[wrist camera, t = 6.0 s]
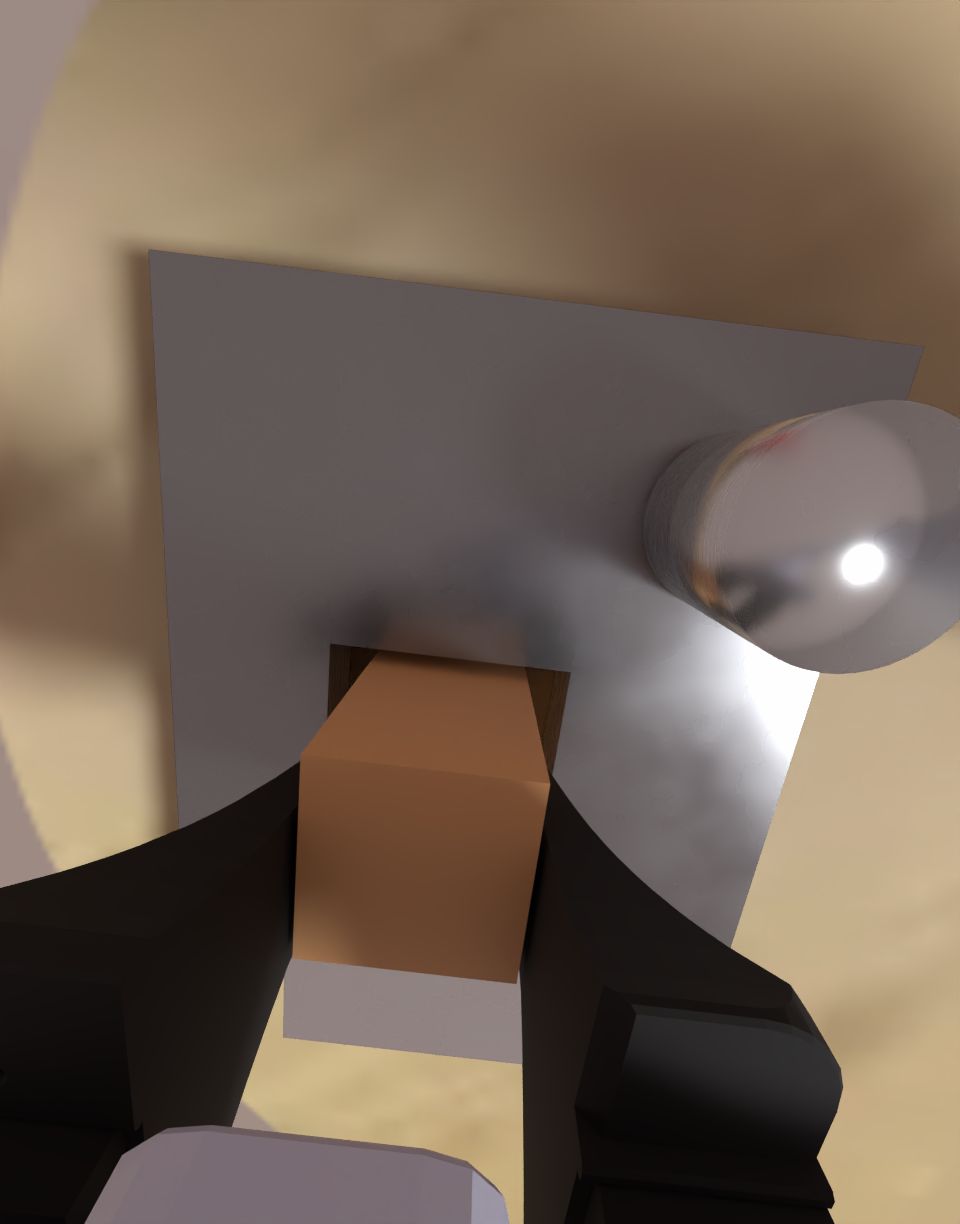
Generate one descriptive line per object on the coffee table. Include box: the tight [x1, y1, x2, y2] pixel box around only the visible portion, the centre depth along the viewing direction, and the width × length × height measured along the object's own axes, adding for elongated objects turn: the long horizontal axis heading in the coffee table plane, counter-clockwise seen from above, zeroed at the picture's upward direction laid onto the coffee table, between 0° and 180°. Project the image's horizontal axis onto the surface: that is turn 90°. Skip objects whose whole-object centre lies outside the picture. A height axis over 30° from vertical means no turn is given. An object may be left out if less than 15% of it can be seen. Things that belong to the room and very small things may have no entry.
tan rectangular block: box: [292, 649, 550, 984], centre depth 11 cm, size 4×4×6 cm
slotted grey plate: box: [149, 250, 960, 1064], centre depth 11 cm, size 16×18×6 cm
